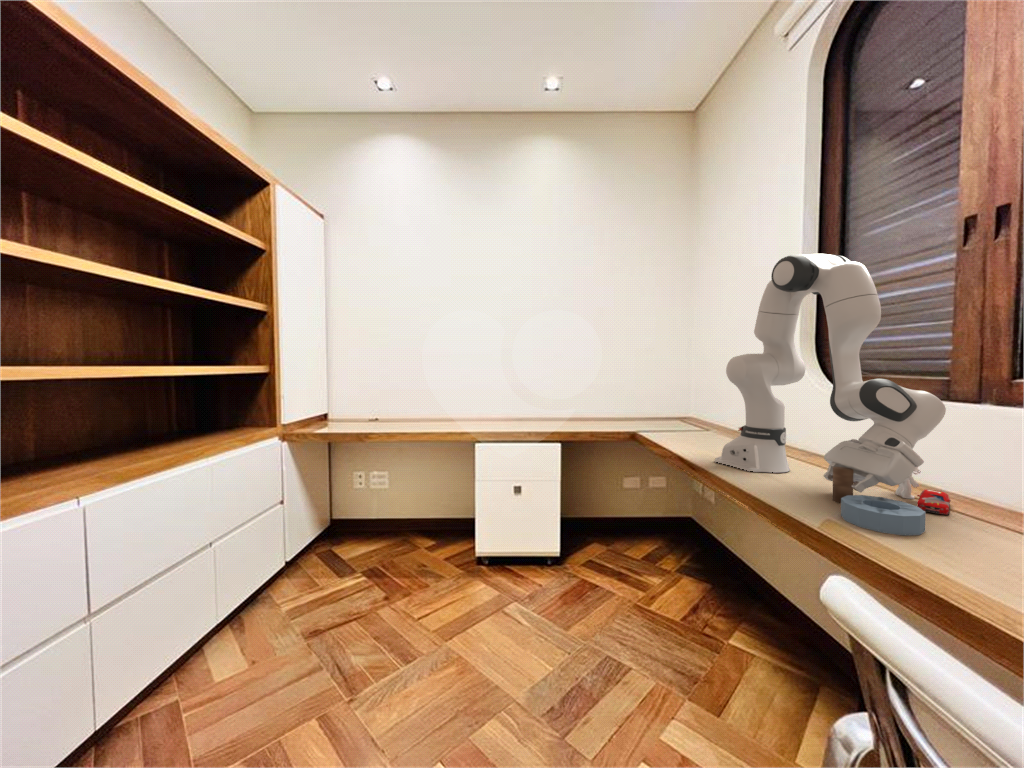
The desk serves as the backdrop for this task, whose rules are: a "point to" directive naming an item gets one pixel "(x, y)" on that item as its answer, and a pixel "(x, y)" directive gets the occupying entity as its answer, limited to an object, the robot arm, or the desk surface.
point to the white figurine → (907, 486)
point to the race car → (934, 502)
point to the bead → (883, 514)
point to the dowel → (842, 483)
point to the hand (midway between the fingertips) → (840, 483)
